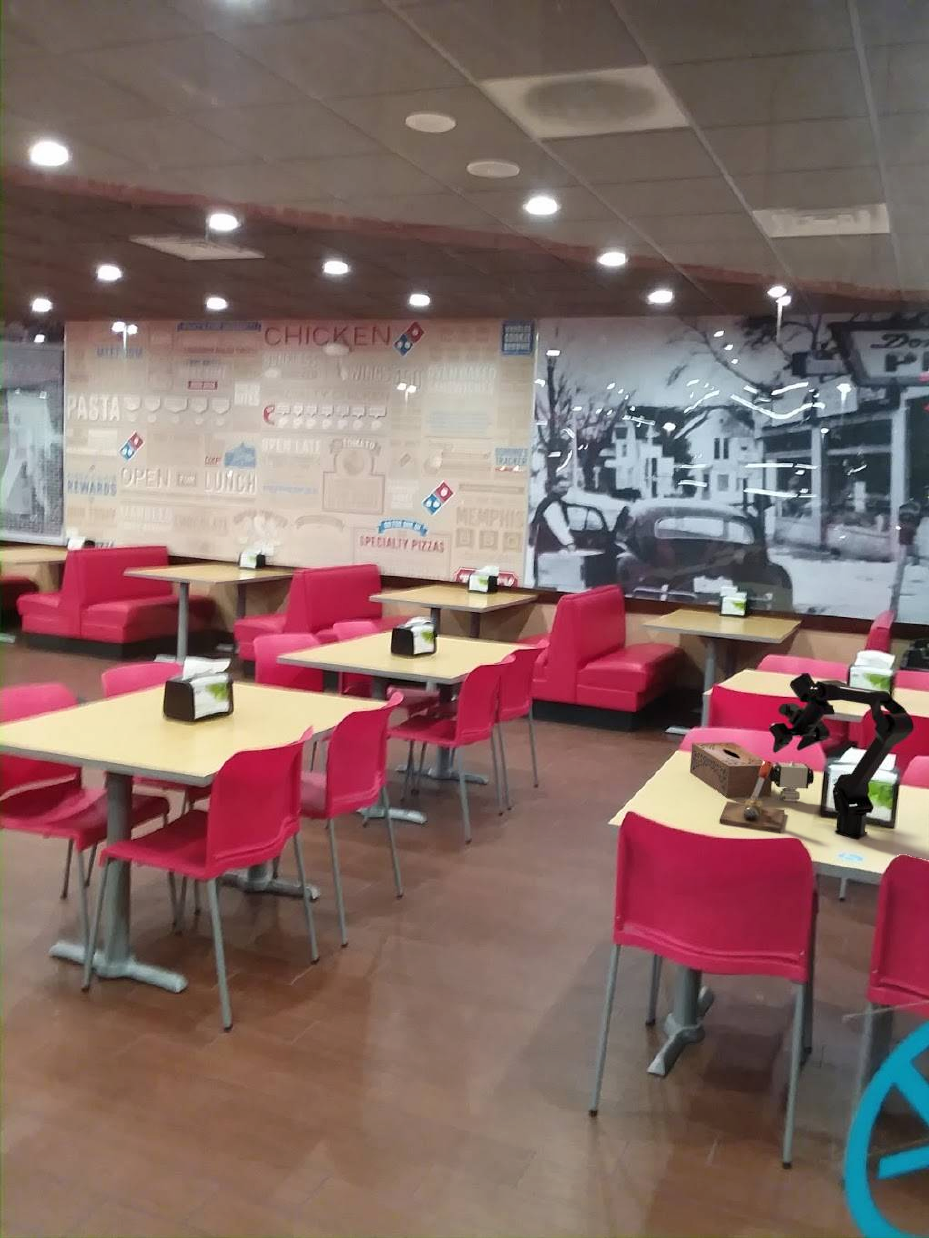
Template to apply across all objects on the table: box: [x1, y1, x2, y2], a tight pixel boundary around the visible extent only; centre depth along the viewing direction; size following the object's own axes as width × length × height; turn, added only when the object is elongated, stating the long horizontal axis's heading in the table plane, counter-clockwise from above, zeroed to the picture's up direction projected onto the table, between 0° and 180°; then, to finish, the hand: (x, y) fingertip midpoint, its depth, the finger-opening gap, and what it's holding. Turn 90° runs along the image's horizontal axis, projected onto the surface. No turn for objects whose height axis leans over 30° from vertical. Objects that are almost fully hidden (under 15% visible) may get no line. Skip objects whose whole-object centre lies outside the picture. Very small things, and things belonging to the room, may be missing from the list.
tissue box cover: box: [689, 741, 774, 799], centre depth 318 cm, size 26×14×10 cm, turn 12°
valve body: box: [743, 797, 763, 821], centre depth 287 cm, size 4×12×6 cm, turn 159°
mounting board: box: [718, 801, 785, 833], centre depth 287 cm, size 16×17×1 cm
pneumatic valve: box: [770, 761, 815, 803], centre depth 304 cm, size 6×12×12 cm, turn 87°
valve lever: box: [749, 759, 774, 801], centre depth 285 cm, size 3×3×12 cm
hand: (786, 750), depth 301 cm, fingers open, 9 cm apart
